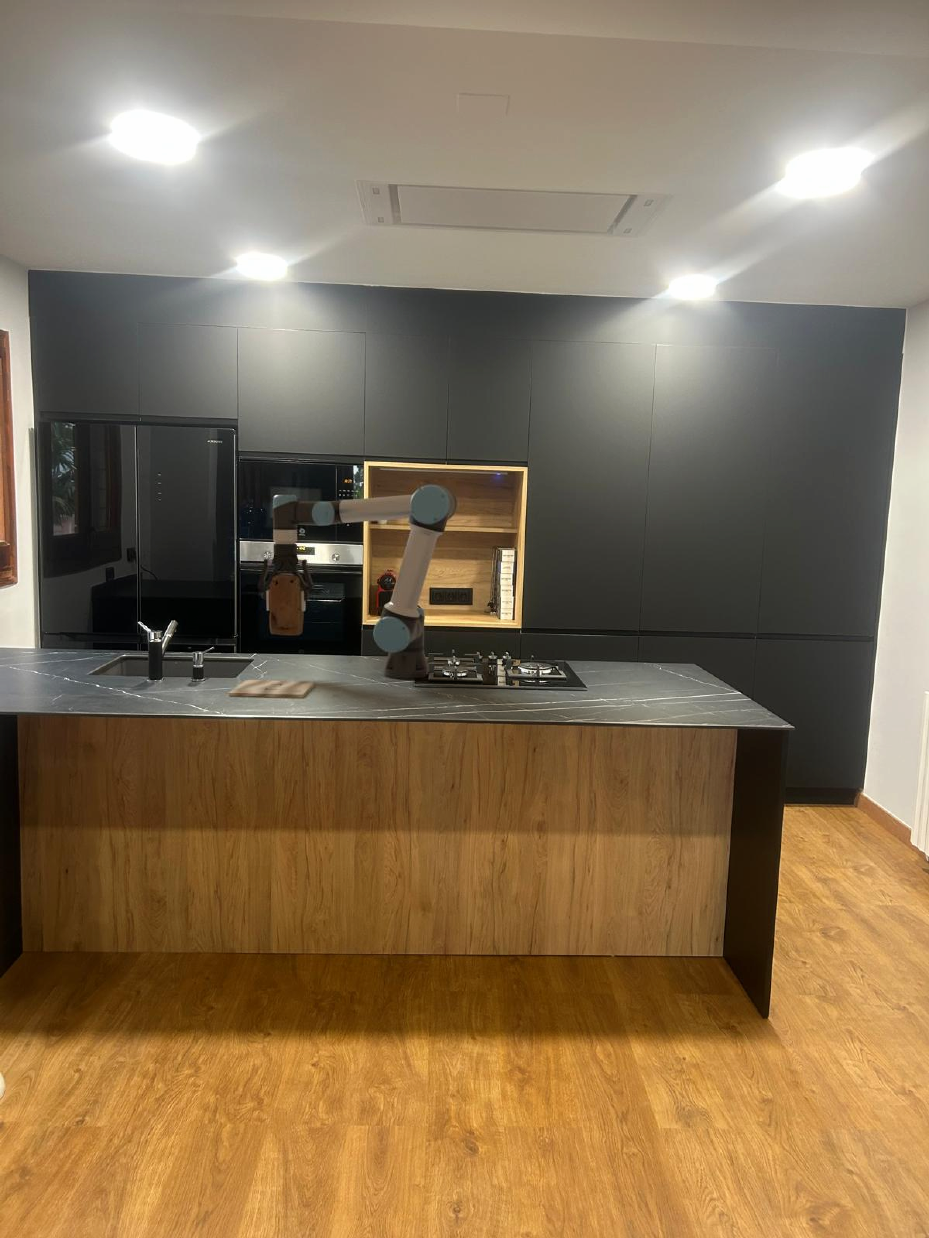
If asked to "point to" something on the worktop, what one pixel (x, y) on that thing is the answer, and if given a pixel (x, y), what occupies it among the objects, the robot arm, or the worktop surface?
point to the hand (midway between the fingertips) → (286, 610)
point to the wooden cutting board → (273, 688)
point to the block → (286, 605)
